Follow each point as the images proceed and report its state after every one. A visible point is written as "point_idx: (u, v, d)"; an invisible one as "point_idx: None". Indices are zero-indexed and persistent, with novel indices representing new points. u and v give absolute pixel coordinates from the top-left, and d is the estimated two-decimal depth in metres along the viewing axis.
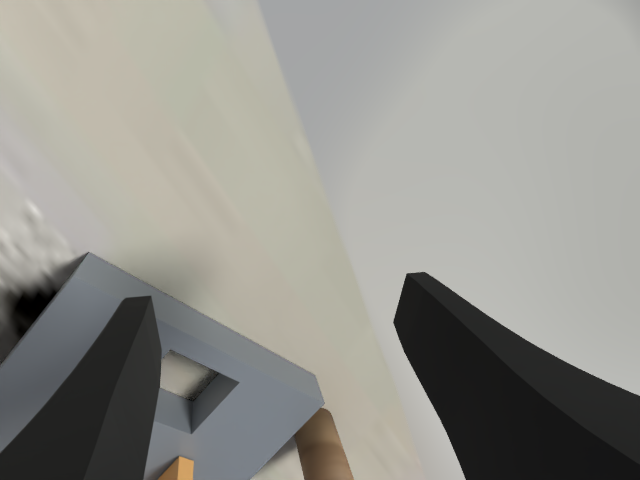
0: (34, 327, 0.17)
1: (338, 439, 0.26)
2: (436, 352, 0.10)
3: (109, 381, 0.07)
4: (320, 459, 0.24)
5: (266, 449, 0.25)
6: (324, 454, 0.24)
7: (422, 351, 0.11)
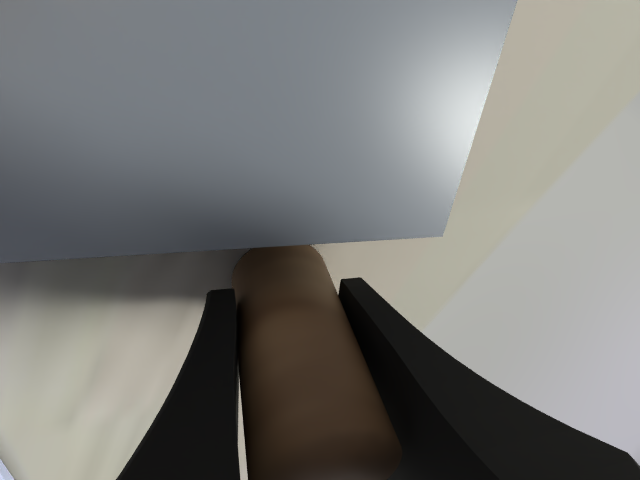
0: None
1: None
2: None
3: (225, 365, 0.07)
4: (343, 342, 0.08)
5: (242, 217, 0.08)
6: (350, 339, 0.09)
7: None
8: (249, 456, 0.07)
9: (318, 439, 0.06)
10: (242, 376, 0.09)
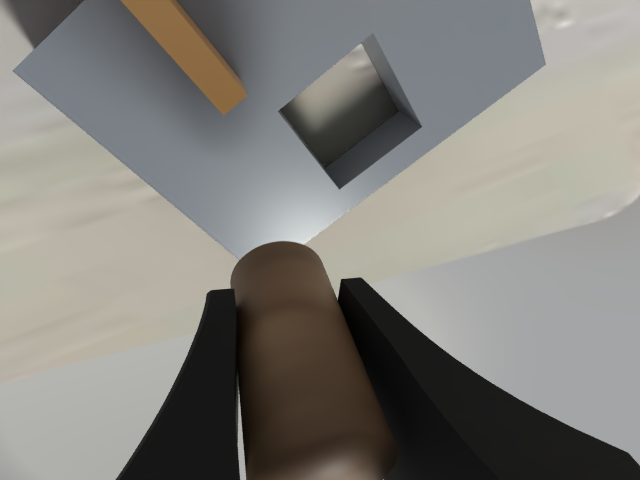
0: None
1: None
2: (364, 362, 0.10)
3: (225, 365, 0.07)
4: (344, 345, 0.09)
5: (199, 205, 0.16)
6: (349, 342, 0.09)
7: None
8: (248, 454, 0.07)
9: (320, 438, 0.07)
10: (241, 375, 0.09)
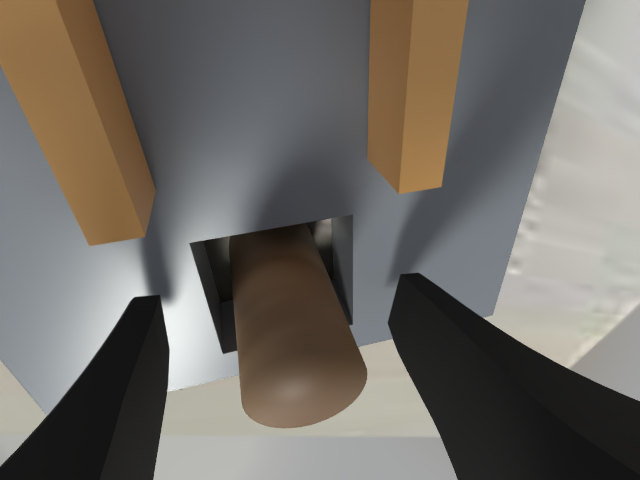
0: (510, 249, 0.13)
1: None
2: (429, 353, 0.10)
3: (122, 379, 0.07)
4: (324, 289, 0.10)
5: None
6: (329, 288, 0.11)
7: (415, 352, 0.11)
8: (242, 368, 0.09)
9: (300, 348, 0.08)
10: (238, 313, 0.10)
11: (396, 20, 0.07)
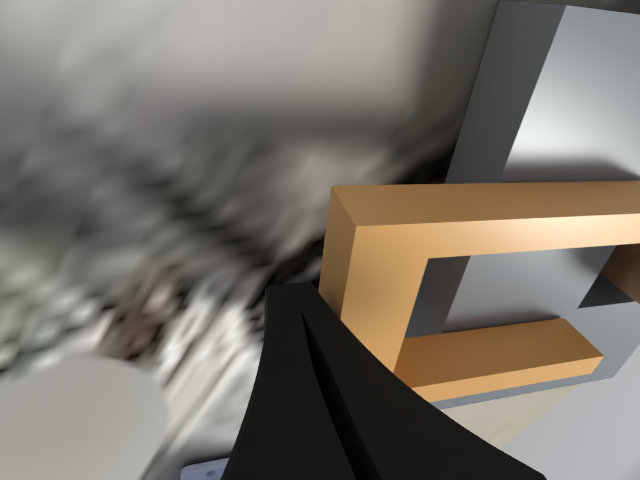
0: None
1: None
2: None
3: (302, 355, 0.08)
4: None
5: None
6: None
7: None
8: None
9: None
10: None
11: None
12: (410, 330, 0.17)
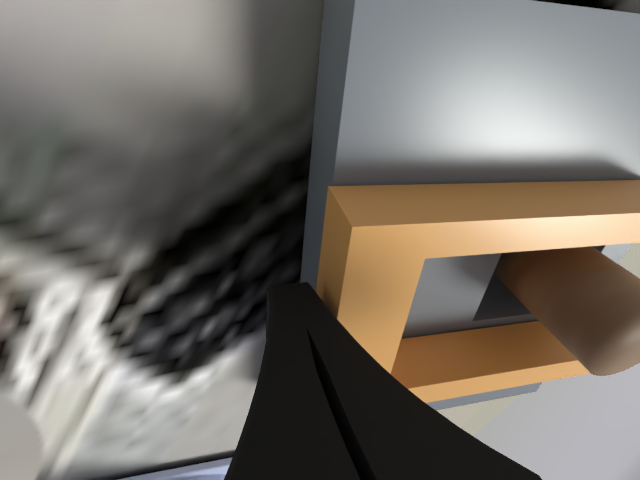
0: None
1: None
2: None
3: (305, 355, 0.08)
4: (565, 272, 0.12)
5: None
6: (568, 263, 0.12)
7: None
8: None
9: (593, 347, 0.11)
10: None
11: None
12: None
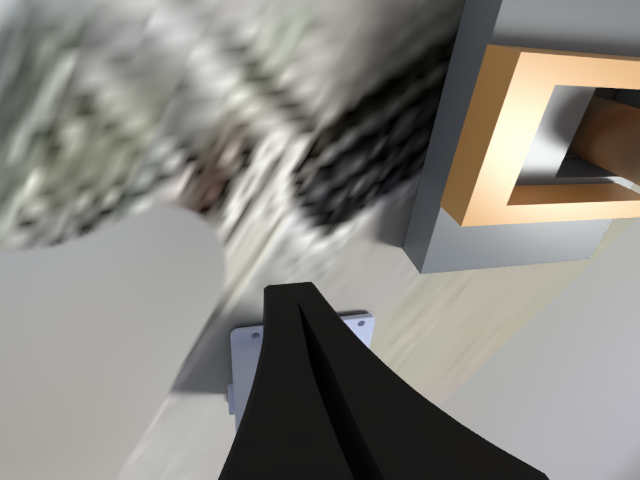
0: None
1: None
2: None
3: (301, 355, 0.08)
4: (633, 123, 0.17)
5: (532, 254, 0.23)
6: (634, 118, 0.17)
7: None
8: None
9: None
10: (609, 170, 0.19)
11: None
12: (420, 202, 0.21)
